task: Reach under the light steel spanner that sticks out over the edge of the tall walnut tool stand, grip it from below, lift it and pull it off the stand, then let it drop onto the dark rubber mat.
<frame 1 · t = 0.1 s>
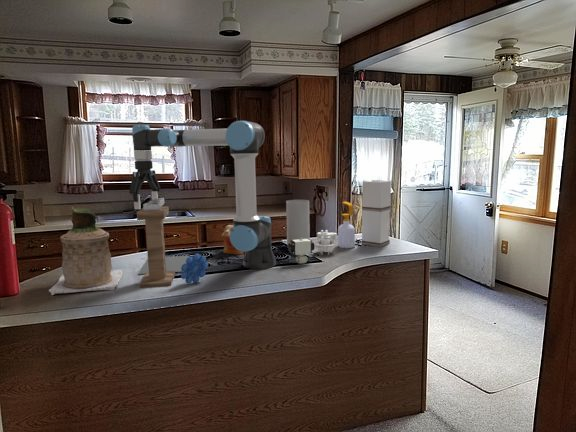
hand: (146, 207, 192), 28 cm above the countertop, tool pointing down, fingers open, 13 cm apart
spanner: (154, 208, 172), point 30 cm above the countertop, touching tool stand
grapes: (194, 282, 172), on the countertop
soap bottle: (346, 246, 229), on the countertop
rubber mat: (165, 265, 198), on the countertop
pneumatic valve: (301, 263, 198), on the countertop
ceramic vessel: (240, 250, 225), on the countertop
white lidded square box: (375, 244, 234), on the countertop
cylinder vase: (298, 246, 232), on the countertop
cookie jar: (89, 284, 172), on the countertop
mechanical part: (325, 253, 215), on the countertop
tool stand: (159, 279, 177), on the countertop
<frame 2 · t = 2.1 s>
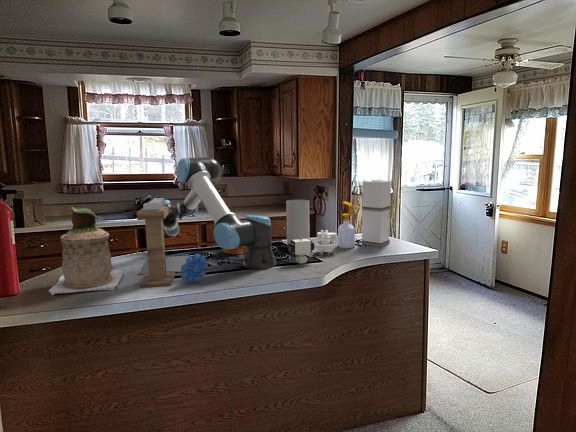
hand: (163, 205, 198), 28 cm above the countertop, tool pointing upward, fingers open, 13 cm apart
nothing on the countertop moved.
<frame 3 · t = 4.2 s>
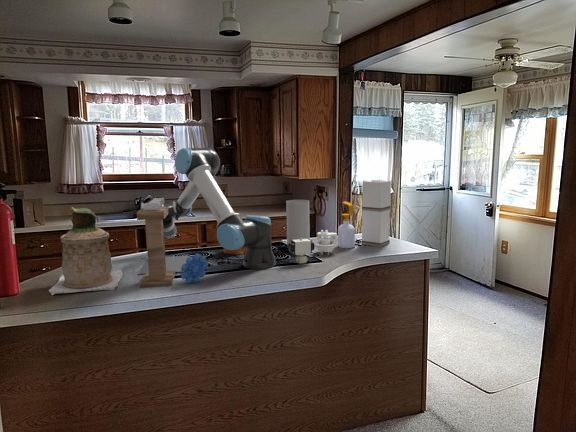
hand: (157, 204, 186), 30 cm above the countertop, tool pointing upward, fingers open, 13 cm apart
nothing on the countertop moved.
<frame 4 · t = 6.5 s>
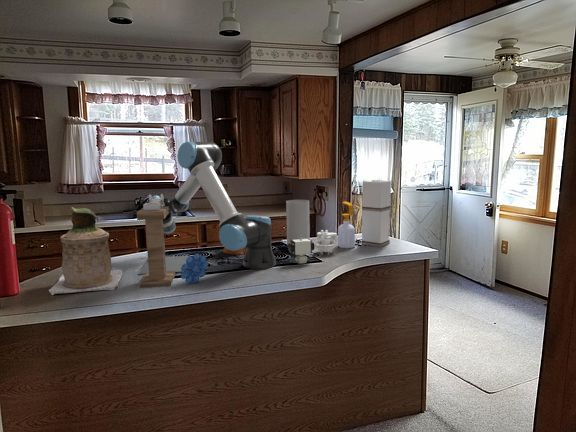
hand: (155, 197, 177), 34 cm above the countertop, tool pointing upward, fingers closed on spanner, 4 cm apart
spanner: (154, 208, 172), point 30 cm above the countertop, touching gripper, tool stand
everything else where it was.
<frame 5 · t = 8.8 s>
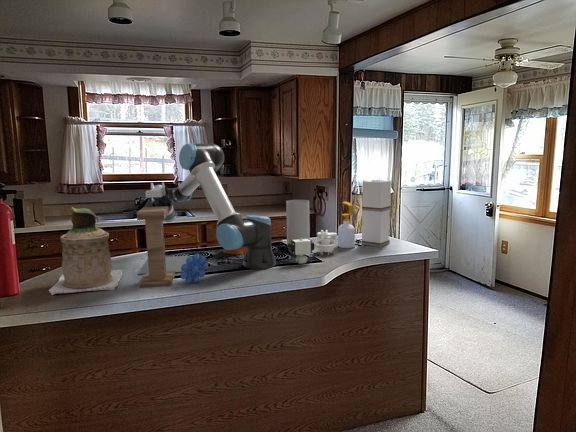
hand: (157, 185, 186), 38 cm above the countertop, tool pointing upward, fingers closed on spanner, 4 cm apart
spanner: (155, 195, 180), point 34 cm above the countertop, touching gripper
everything else where it was.
when the fingers open (26 cm above the countertop, at t = 11.5 s): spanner drops 21 cm, resting on rubber mat.
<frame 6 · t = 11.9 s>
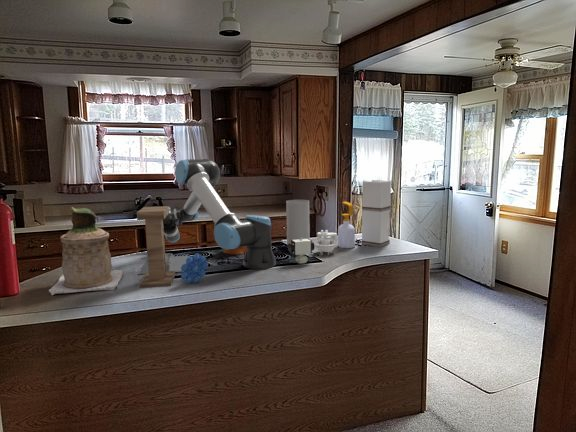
hand: (163, 211, 196), 25 cm above the countertop, tool pointing upward, fingers open, 10 cm apart
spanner: (164, 266, 193), resting on rubber mat
everything else where it was.
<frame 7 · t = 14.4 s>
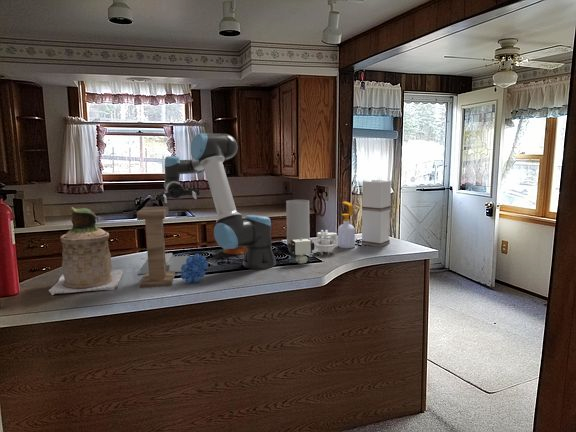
hand: (181, 198, 196), 31 cm above the countertop, tool horizontal, fingers open, 13 cm apart
nothing on the countertop moved.
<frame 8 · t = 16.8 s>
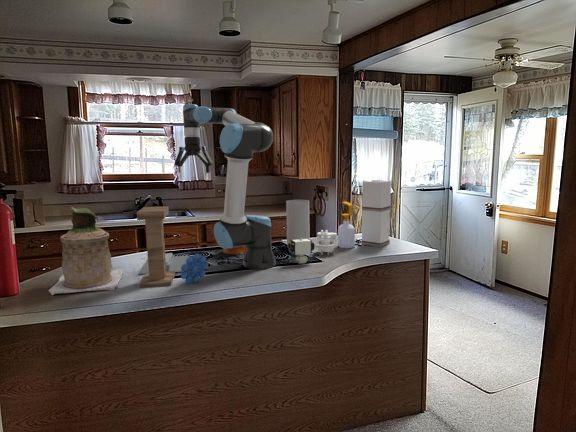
hand: (194, 179, 211), 39 cm above the countertop, tool pointing down, fingers open, 13 cm apart
nothing on the countertop moved.
at the end: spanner inside the target area (0.8 cm from its centre), point 0.5 cm above the countertop; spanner touching rubber mat; the gripper is holding nothing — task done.
